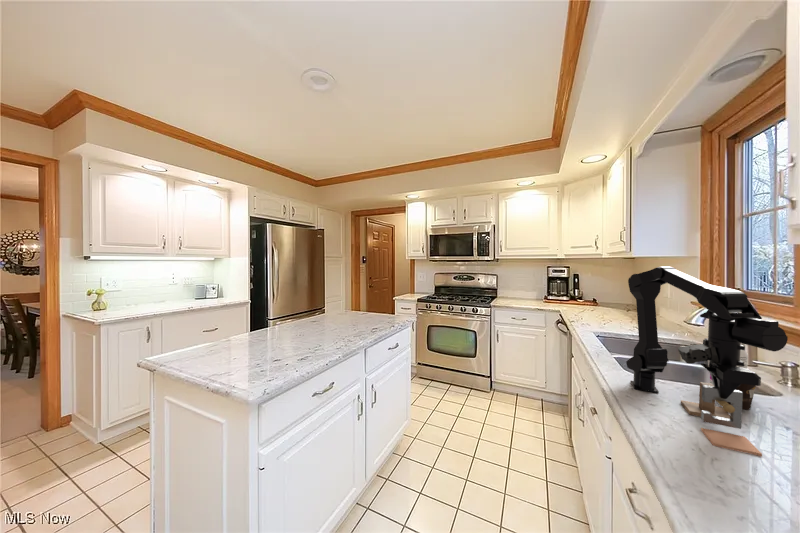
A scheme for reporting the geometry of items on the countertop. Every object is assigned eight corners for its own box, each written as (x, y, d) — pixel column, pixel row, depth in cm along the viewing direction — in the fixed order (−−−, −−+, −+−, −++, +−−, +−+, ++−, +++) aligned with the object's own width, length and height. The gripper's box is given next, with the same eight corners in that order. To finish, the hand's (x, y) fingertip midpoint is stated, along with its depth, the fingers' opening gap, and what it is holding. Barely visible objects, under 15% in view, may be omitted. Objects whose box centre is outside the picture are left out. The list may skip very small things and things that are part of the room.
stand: (680, 403, 90) (681, 376, 90) (721, 410, 86) (722, 382, 85) (703, 431, 76) (705, 399, 75) (754, 442, 71) (755, 408, 71)
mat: (700, 429, 77) (701, 427, 77) (744, 438, 73) (744, 436, 73) (713, 445, 70) (713, 443, 70) (761, 456, 67) (762, 453, 67)
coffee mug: (734, 397, 93) (736, 367, 92) (766, 412, 84) (767, 379, 84) (695, 396, 94) (696, 366, 94) (721, 411, 85) (723, 377, 85)
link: (701, 418, 79) (702, 384, 78) (738, 425, 76) (739, 390, 75) (703, 421, 78) (704, 387, 77) (741, 429, 74) (742, 392, 74)
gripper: (670, 326, 88) (669, 377, 88) (696, 344, 71) (694, 406, 72) (722, 331, 82) (720, 384, 83) (763, 350, 66) (760, 417, 67)
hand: (721, 396), depth 76 cm, fingers closed on link, 1 cm apart
